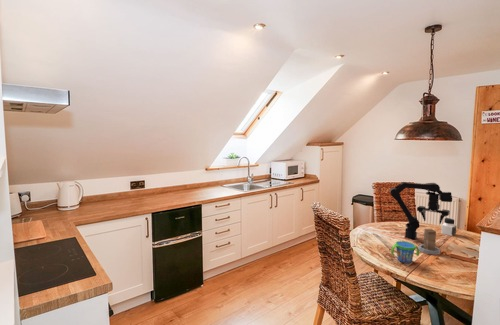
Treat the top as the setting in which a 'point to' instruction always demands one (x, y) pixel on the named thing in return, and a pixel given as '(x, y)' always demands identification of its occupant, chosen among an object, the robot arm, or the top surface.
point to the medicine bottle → (448, 227)
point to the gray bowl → (436, 252)
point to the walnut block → (429, 239)
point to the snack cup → (405, 251)
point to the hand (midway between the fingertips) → (432, 222)
